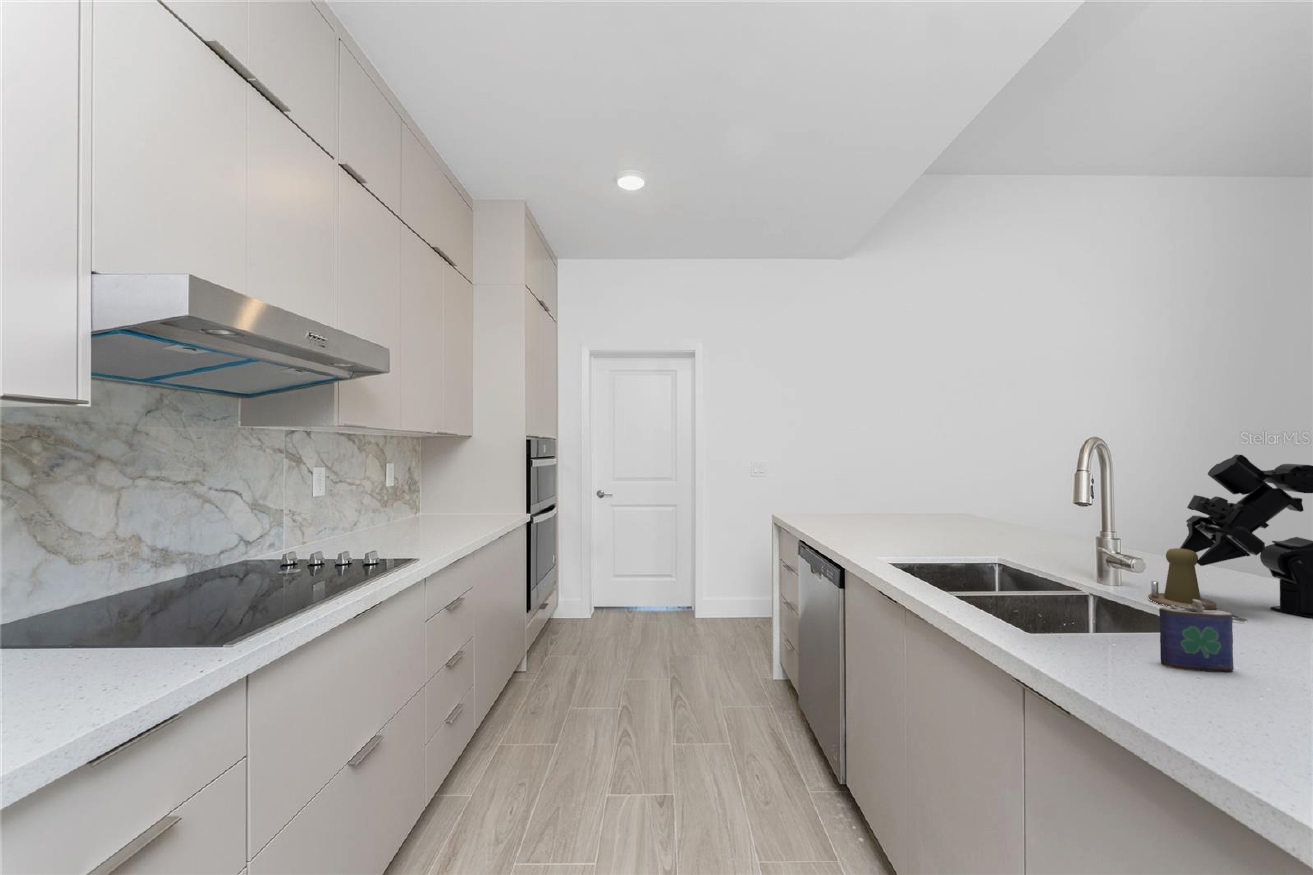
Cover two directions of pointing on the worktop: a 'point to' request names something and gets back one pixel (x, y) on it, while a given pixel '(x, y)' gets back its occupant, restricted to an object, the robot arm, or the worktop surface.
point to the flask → (1196, 638)
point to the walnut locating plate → (1161, 600)
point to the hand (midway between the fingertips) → (1188, 559)
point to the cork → (1182, 576)
